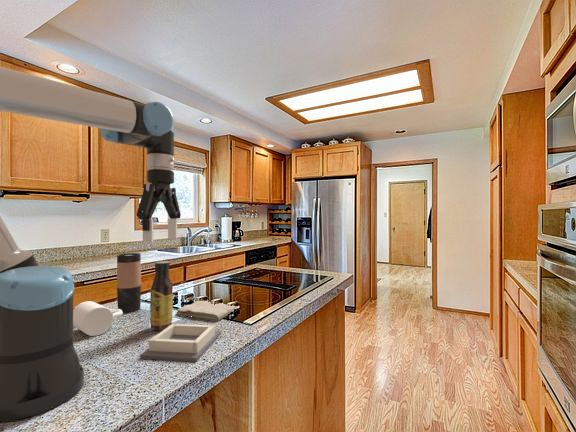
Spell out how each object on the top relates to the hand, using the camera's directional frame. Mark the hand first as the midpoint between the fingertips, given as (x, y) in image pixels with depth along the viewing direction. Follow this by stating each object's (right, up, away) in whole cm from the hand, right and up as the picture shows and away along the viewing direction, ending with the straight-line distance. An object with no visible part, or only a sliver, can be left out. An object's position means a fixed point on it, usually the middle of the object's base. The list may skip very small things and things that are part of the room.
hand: (161, 240), depth 90 cm
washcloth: (+10, -27, +14) cm, 32 cm away
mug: (-18, -27, -1) cm, 32 cm away
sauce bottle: (0, -26, 0) cm, 26 cm away
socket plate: (+11, -26, -13) cm, 31 cm away
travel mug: (-19, -27, +17) cm, 37 cm away
